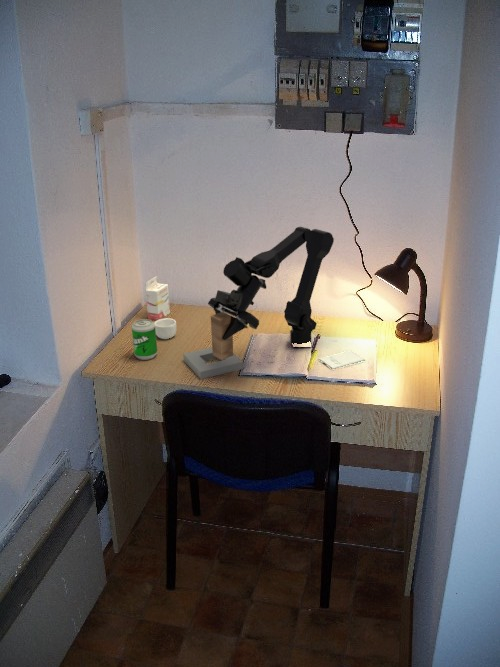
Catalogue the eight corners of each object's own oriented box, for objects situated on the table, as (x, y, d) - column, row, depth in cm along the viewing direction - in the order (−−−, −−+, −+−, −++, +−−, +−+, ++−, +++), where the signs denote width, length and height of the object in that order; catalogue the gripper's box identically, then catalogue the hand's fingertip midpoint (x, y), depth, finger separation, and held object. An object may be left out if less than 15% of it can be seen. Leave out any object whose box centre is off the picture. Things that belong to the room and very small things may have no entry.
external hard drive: (365, 363, 210) (332, 372, 205) (349, 353, 216) (318, 362, 211) (365, 358, 209) (332, 367, 204) (350, 349, 216) (318, 357, 211)
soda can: (148, 349, 221) (145, 316, 217) (162, 355, 217) (159, 322, 212) (130, 356, 217) (126, 322, 212) (143, 363, 212) (140, 329, 207)
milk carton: (159, 321, 243) (156, 283, 237) (147, 319, 245) (144, 282, 239) (170, 313, 250) (167, 276, 244) (159, 311, 252) (156, 275, 246)
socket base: (224, 351, 219) (224, 344, 218) (243, 368, 207) (243, 361, 206) (183, 360, 213) (183, 353, 212) (200, 379, 201) (200, 371, 200)
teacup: (172, 342, 226) (171, 327, 224) (151, 340, 228) (150, 326, 226) (182, 330, 235) (181, 316, 233) (162, 329, 237) (161, 315, 235)
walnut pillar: (224, 350, 203) (222, 311, 198) (233, 355, 200) (231, 316, 195) (212, 355, 201) (210, 315, 195) (221, 359, 197) (219, 320, 192)
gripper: (211, 272, 200) (183, 315, 198) (250, 288, 186) (221, 334, 185) (232, 290, 207) (206, 332, 206) (271, 306, 194) (244, 351, 192)
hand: (218, 336), depth 197 cm, fingers closed on walnut pillar, 4 cm apart
